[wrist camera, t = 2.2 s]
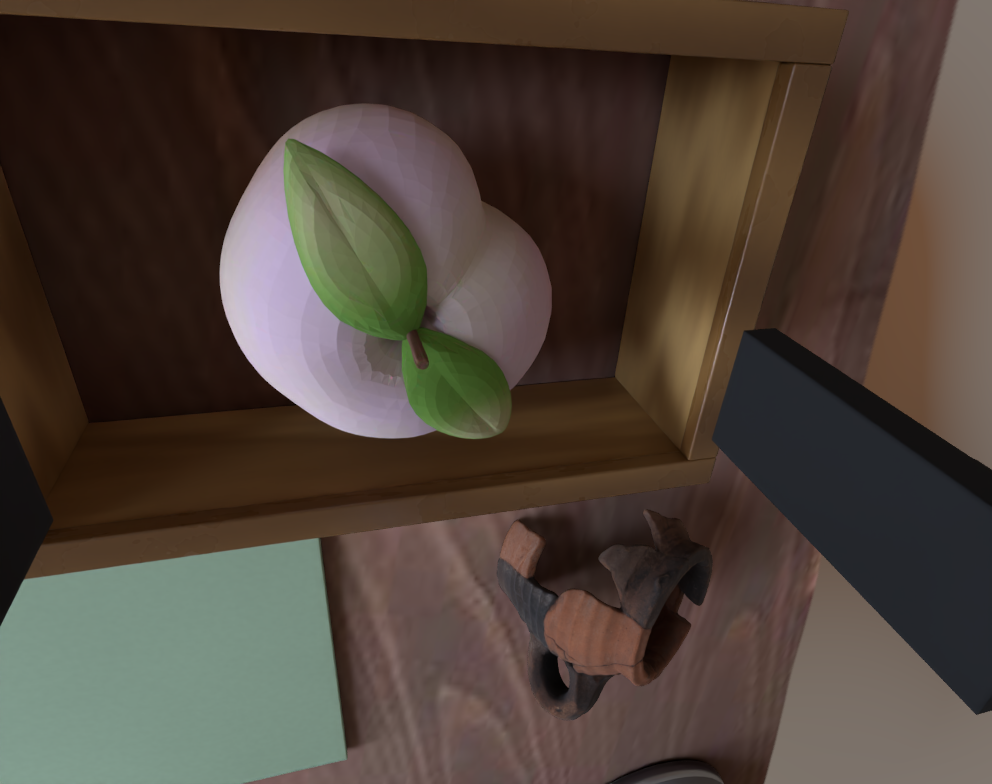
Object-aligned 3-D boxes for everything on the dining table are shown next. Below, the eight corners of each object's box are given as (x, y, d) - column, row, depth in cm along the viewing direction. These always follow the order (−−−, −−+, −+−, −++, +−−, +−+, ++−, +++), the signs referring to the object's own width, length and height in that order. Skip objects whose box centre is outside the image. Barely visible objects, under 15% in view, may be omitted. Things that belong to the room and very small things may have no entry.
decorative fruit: (176, 222, 19) (79, 365, 11) (357, 37, 18) (399, 43, 10) (382, 391, 25) (419, 575, 16) (535, 255, 23) (660, 380, 15)
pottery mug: (516, 464, 29) (669, 548, 24) (611, 459, 36) (744, 523, 31) (446, 679, 31) (574, 799, 26) (550, 634, 38) (665, 720, 33)
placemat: (347, 749, 36) (347, 759, 36) (-3, 829, 32) (-8, 842, 31) (309, 454, 25) (309, 463, 25) (-236, 513, 21) (-250, 525, 20)
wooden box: (630, 393, 28) (709, 483, 23) (66, 447, 22) (-14, 586, 17) (703, 15, 20) (850, 9, 15) (-121, -52, 15) (-379, -101, 9)
